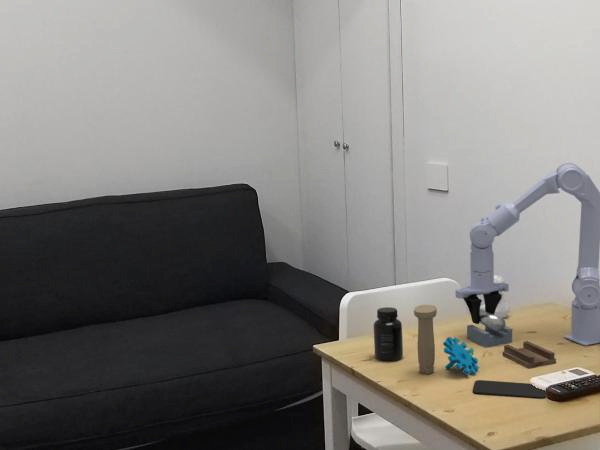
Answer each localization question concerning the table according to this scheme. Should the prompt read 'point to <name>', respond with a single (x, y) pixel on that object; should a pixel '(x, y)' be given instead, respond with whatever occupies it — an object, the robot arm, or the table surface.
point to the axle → (491, 321)
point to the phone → (508, 389)
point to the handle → (426, 337)
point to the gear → (460, 356)
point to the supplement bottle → (388, 335)
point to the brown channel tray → (529, 355)
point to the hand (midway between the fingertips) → (482, 321)
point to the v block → (489, 336)
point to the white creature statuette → (502, 306)
